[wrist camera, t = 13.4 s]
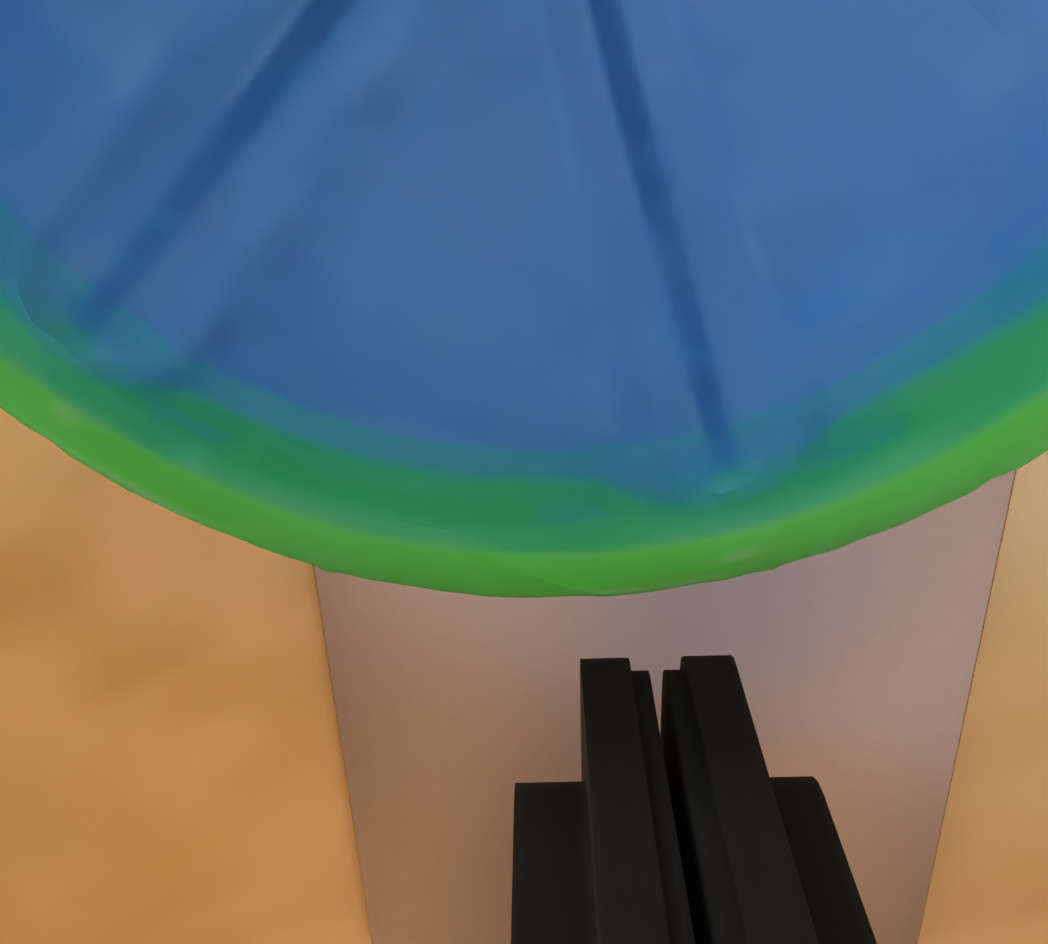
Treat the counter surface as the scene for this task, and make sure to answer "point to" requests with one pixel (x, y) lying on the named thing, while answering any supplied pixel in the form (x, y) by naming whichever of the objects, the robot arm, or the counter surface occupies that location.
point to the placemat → (656, 645)
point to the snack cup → (529, 273)
